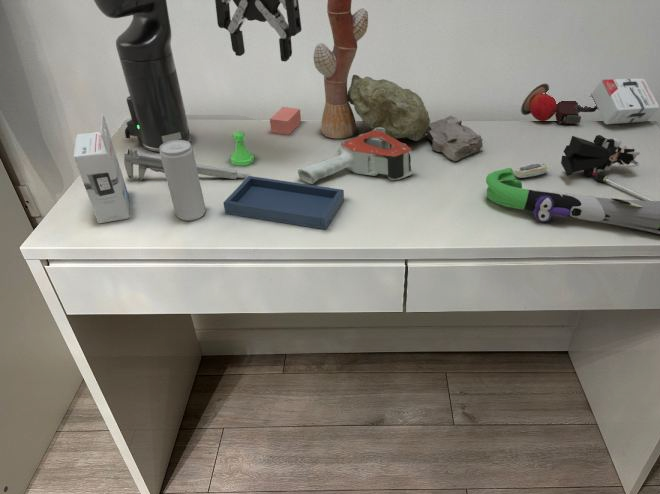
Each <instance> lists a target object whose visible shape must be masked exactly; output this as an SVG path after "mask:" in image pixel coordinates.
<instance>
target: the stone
mask: <svg viewBox="0 0 660 494" xmlns="http://www.w3.org/2000/svg"><path fill="white" fill-rule="evenodd" d="M462 123H463V120H462V119H459V118H457V117H455V116H453V115H449V116H447V117H445V118H441V119H439V120H436V121H431V122H430V124H429V127H428V129H427V132H426V134H425V135H426V137H427V138H428V139H429V140H430V142H431V143H432V146H431V147H432V151H435V152H437V153H442V154H443V155H444V156H445V157H446V158H447V159H449V160H451V161H453V162H458V161H460V160H461V159H463V158H465V157H467V156H470V155H472V154H474V153H477V152H480V151H481V150H482V148H483V146H484V145H483V144H484V143H483V141H484V139H483V138H482V136H481V135H480V134H478V133H476V132H475V131H474V130H473V129H472V128H470V127H469V126H466V125H463V124H462Z"/></svg>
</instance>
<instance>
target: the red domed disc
mask: <svg viewBox="0 0 660 494" xmlns="http://www.w3.org/2000/svg"><path fill="white" fill-rule="evenodd" d="M548 90H549V91H550V85H549V83H546V82H543V83H540V84H538V85H536V86H535V87H534V88H532V90H530V91H529V92H528V94H527V95H526V96H525V98H524V99H523V101H522V103H521V107H520V113H521V115H523V116H527V115H530V114H531V115H532V117H533V118H534V119H536V120H537V121H538V122H547V121H549V120H550V119H551V118H553V117H554V115H555V114H557V113H555V112H556V110H557V104H556V101H555V99H554V98H553V97H551V96H552V95H550V94H546V92H547V91H548ZM543 93H545V94H543Z"/></svg>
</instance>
